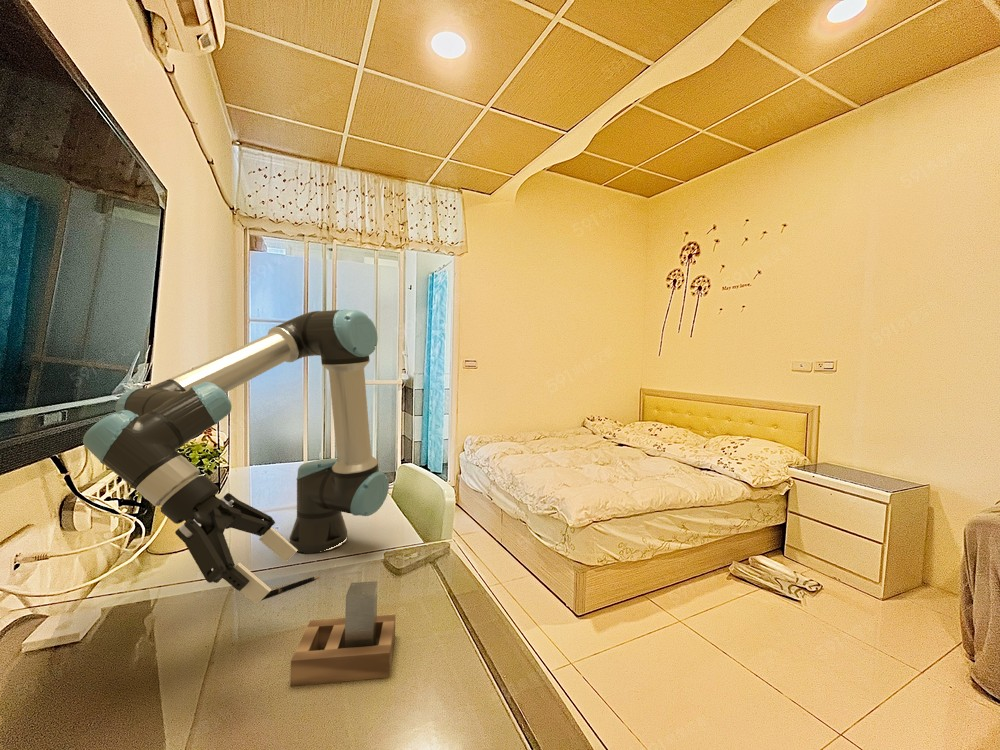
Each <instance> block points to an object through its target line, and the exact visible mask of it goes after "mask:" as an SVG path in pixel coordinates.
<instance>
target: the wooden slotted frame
mask: <svg viewBox="0 0 1000 750" xmlns="http://www.w3.org/2000/svg"><path fill="white" fill-rule="evenodd" d="M395 640H396V614H387V615H386V614H385V615H377V624H376V646H367V647H354V648H345V617H343V618H342V617H341V618H326V619H315V620H314V619H313V620H310V621H309V622H308V625H307V627H306V629H305V631H304V633H303V634H302V637H301V639H300V641H299V643H298V645H297V647H296V649H295V651H294V653H293V656H292V658H291V660H290V681H289V684H290V687H296V686H306V685H308V686H309V685H317V684H329V683H339V682H350V681H361V680H363V681H364V680H372V679H382V678H383V679H384V678H390V674H391V667H392V659H393V652H394V645H395Z"/></svg>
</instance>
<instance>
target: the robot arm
mask: <svg viewBox="0 0 1000 750" xmlns="http://www.w3.org/2000/svg"><path fill="white" fill-rule="evenodd" d="M377 345H378V332H377V328H376V326H375V324H374V321H373V320H372V319H371V318H369V316H368V315H367V314H366V313H364V312H363V311H360V310H358V309H357V310H356V309H345V308H344V309H336V310H335V309H334V310H333V309H332V310H317V311H316V310H314V311H310V312H306V313H303V314H301V315H298V316H296V317H294V318H292V319H289V320H287V321H285V322H282V323H280V324H278V325H276V326H273V327H272V328H270V329H269V330H268V332H267V334H266V335H264V336H261V337H260V338H257V339H255V340H252V341H250V342H248V343H247V344H244V345H242V346H240V347H237V348H234V349H233V350H230V351H228V352H226V353H224V354H222V355H220V356H217V357H215V358H213V359H210V360H209V361H206V362H204V363H202V364H200V365H198V366H195V367H193V368H191V369H188V370H186V371H184V372H182V373H180V374H177V375H175V376H172V377H171V378H168V379H167V380H164V381H161V382H158V383H157V384H154V385H151V386H149V387H142V388H139V387H138V388H134V389H130V390H127V391H126V392H124V393H123V394H122V395H121V396H120V397H119V398H118V399H117V401H116V404H115V407H114V408H115V410H114V411H115V413H111V414H109V415H107V416H105V417H103V418H102V419H100V420H99V421H97V422H96V423H95V424H93V425H92V426H91V427H90V428H89V429H88V430H87V431H86V432H85V433H84V435H83V437H82V438H83V439H82V443H83V445H84V447H85V448H86V449H87V450H88V451H89V452H90V453H91V454H92V455H93V456H94V457H95V458H96V459H97V460H98V461H99V463H101V464H102V465H105V466H106V467H107V468H108V469H109V470H110V471H111V472H113V473H114V474H116V475H117V476H118V477H119V478H121V479H122V480H123V481H125V482H126V483H127V484H128V485H130V487H131V488H133V489H134V490H135V491H137V492H138V493H139V494H140V495H141V496H143V499H145V500H147V501H149V503H151V504H152V505H153V506H154V507H160V506H161V507H160V513H162V514H163V515H164V516H166V518H168V519H169V520H170V521H171V522H172V523H173V524H176V525H178V524H181V523H182V525H181V526H179V527H178V528H177V529H176V530H175V532H174V533H175V535H176V536H177V537H178V538H179V539H180V540H181V541H182V542H183V543H184V544H185V547H186V548H187V549H188V550H187V551H189V553H190V555H191V557H192V558H193V559H194V561H195V563H196V565H197V567H198V569H199V570H200V572H201V574H202V575H203V578H204V579H205V580H206V582H208V583H215V584H217V583H219V582H220V581H221V580H222V579H223V580H224V581H225V582H227V584H229V585H230V586H231V587H233V588H234V589H235V590H236V591H238V592H240V593H241V594H242V595H243V596H245V597H246V598H247V599H248V600H249V601H251V602H252V603H253V604H254V605H255V606H257V605H258V604H259V603H260V602H261V601H263V600H264V599H263V598H264V597H265V596H266V595H267V594H268V593H269V592H270V591H272V590H271V589H272V588H271V587H270V586H268V585H267V584H266V583H265V582H263V581H262V580H261V579H260V578H259V577H258V576H256V575H255V574H254V573H253V572H252V571H250V569H248V568H247V567H246V566H244V565H243V564H242V562H240V561H239V562H238V563H237V564H235V561H234V558H233V556H232V553H231V550H230V547H229V545H228V543H227V539H226V537H225V534H224V533H225V531H226V530H228V529H234V530H238V531H240V532H241V531H242V532H245V533H249V534H252V535H256V536H259V537H260V538H259V539H258V540H259V541H260V542H261V543H263V544H264V545H265V546H266V547H267V548H268V549H269V550H270V551H272V552H273V553H274V554H275V555H276V556H277V557H278V558H279V559H280V560H282V561H283V562H284V563H287V562H288V561H289V560H290V559H291V558H292V557H293V556H294V555H296V553H299V552H304V553H303V554H315V553H314V552H319V553H321V552H320V551H324V550H326V549H329V548H331V547H334V546H336V545H338V544H339V543H341V542H343V541H344V540H345V539H346V537H347V538H348V529H347V526H346V525H347V524H346V522H345V520H344V517H343V514H342V513H345V514H351V515H352V516H361V517H369V516H371V515H374V514H375V513H377V512H378V511H379V510H380V509H381V507H382V506H383V504H384V503H385V501H386V499H387V497H388V494H389V488H390V481H389V478H388V476H387V475H386V474H385V473H383V472H381V471H379V461H378V459H377V458H376V457H374V456H373V455H372V448H371V438H370V437H371V436H370V435H371V434H370V424H369V422H370V421H369V411H368V401H367V399H368V398H367V389H366V377H365V376H366V375H365V368H366V367H367V366H368V364H369V363H370V355H372V354H374V352H375V350H376V347H377ZM312 356H313V357H314V356H320V360H321V361H320V362H321V366H323V368H325V369H326V370H327V371H328V376H329V377H328V378H329V385H330V397H331V406H332V417H333V428H334V429H333V430H334V438H335V440H334V441H335V450H336V458H324V459H318V460H313V461H312V460H311V461H308V462H305V463H302V464H301V465H299V467H298V469H297V478H296V518H295V520H294V524H293V527H292V529H291V532H290V536H289V538H288V540H289V541H288V540H287V539H286V538H285V537H284V536H282V535H281V534H280V533H279V532H278V531H277V530H276V529H274V528H273V527H272V526H274V525H275V524H276V521H275V519H273V517H272V516H270V515H269V514H267V513H265V512H263V511H260V510H259V509H257V508H256V507H253V506H251V505H249V504H247V503H246V502H243V501H242V500H239V499H238V498H237V497H235V496H234V495H233V494H231V493H229V492H227V493H226V494H224V496H223V497H221V498H219V497H217V496H216V494H217V493H218V492H219V486H218V485H217V484H216V483H215V482H213V481H212V480H211V479H210V478H208V476H206V475H203V474H202V475H200V471H201V470H200V469H198V467H196V466H195V465H194V464H193V463H191V462H190V461H189V460H188V459H187V458H186V457H185V456H183V455H182V454H181V452H179V451H178V449H179V448H181V447H183V445H185V444H187V443H188V442H190V441H191V440H193V439H195V438H196V437H197V436H199V435H200V434H203V433H204V432H205V431H207V430H208V429H210V428H211V427H214V425H218V423H220V421H221V420H223V419H224V418H226V417H227V416H228V415H229V414H230V413H231V412H232V409H233V408H232V401H231V399H230V398H229V396H228V394H227V393H228V392H230V391H232V390H234V389H235V388H237V387H239V386H241V385H243V384H244V383H247V382H249V381H250V380H252V379H255V378H256V377H258V376H260V375H262V374H264V373H266V372H268V371H269V370H271V369H273V368H275V367H277V366H279V365H281V364H283V363H293V362H295V361H297V360H299V359H302V358H306V357H312ZM183 522H184V523H183ZM297 551H298V552H297Z"/></svg>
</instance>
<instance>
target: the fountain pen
mask: <svg viewBox="0 0 1000 750" xmlns="http://www.w3.org/2000/svg"><path fill="white" fill-rule="evenodd" d="M319 577H320V575H318V576H312V577H309V578H305V579H302V580H299V581H296V582H294V583H290V584H287V585H285V586H282V587H273V588H270V589H271V591H270V592H269V593H268V594H267V595H266V596H265V597H264V598H263V599H262V600H265V599H269V598H272V597H274V596H276V595H280V594H282V593H284V592H287V591H289V590H293V589H295V588H297V587H301V586H303V585H306V584H308V583H311V582H313V581H315V580H316V579H318V578H319Z"/></svg>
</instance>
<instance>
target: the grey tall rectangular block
mask: <svg viewBox="0 0 1000 750" xmlns="http://www.w3.org/2000/svg"><path fill="white" fill-rule="evenodd" d="M345 595H346V596H345V612H344V613H345V615H344V616H345V617H344V618H345V648H354V647H367V646H377V644H376V624H377V616H378V614H377V613H378V580H377V581H376V580H375V581H360V582H359V581H358V582H350V584H349V587H348V589H347V593H346V594H345Z"/></svg>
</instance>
